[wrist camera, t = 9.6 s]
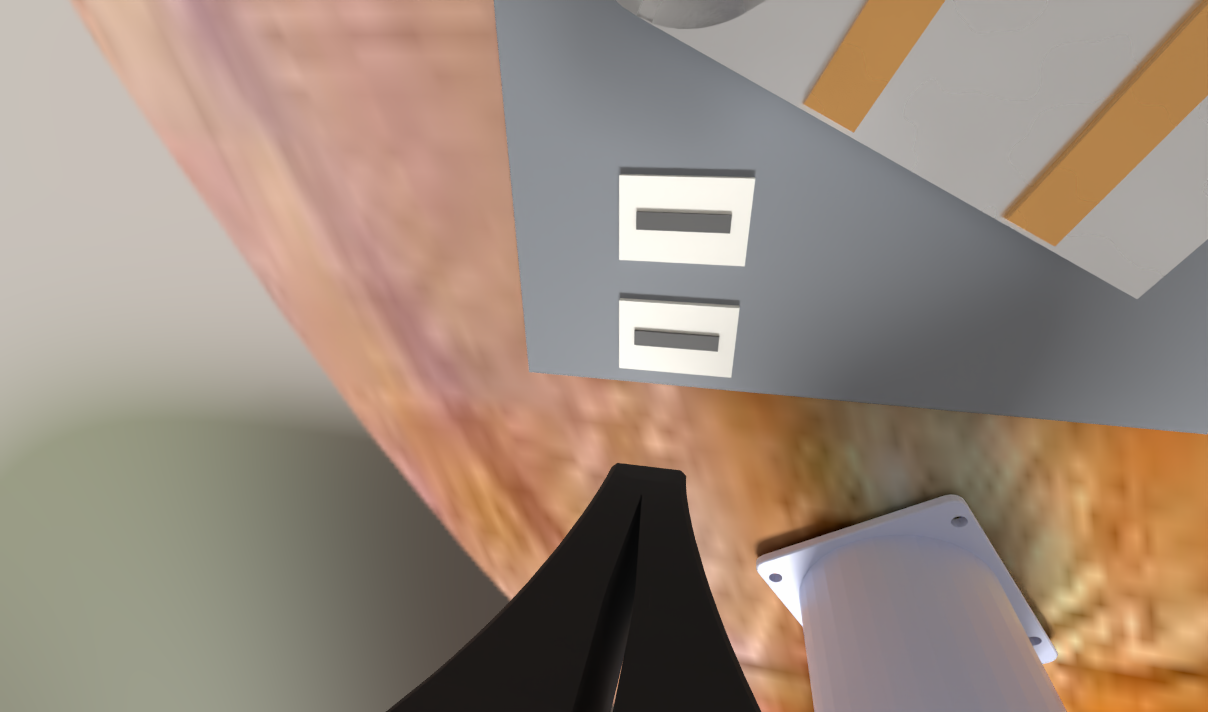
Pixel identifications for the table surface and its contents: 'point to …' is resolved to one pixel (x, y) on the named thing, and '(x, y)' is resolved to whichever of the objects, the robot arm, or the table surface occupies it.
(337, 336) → the table surface
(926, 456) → the table surface
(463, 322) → the table surface
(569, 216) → the label board
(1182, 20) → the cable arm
